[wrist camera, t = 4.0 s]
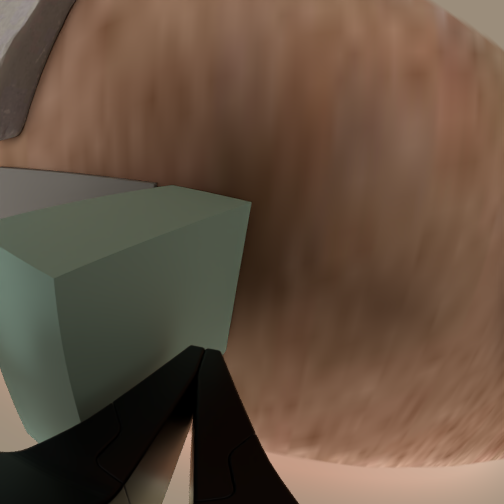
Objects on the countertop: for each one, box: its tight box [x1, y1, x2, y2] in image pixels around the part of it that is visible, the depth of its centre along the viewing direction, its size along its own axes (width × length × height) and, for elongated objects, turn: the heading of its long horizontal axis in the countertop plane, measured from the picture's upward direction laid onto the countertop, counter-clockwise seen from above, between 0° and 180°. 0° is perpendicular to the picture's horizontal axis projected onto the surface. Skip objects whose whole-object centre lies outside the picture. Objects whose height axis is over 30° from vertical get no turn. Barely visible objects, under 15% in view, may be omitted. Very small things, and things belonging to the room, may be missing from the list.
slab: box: [0, 185, 252, 443], centre depth 10 cm, size 4×7×9 cm, turn 170°
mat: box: [0, 167, 157, 219], centre depth 14 cm, size 10×8×1 cm
